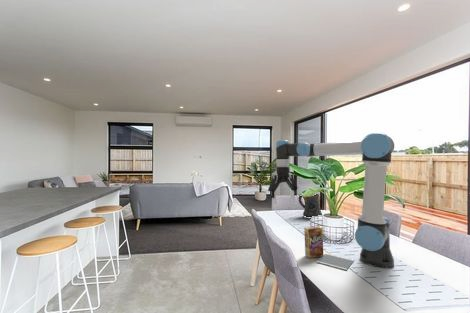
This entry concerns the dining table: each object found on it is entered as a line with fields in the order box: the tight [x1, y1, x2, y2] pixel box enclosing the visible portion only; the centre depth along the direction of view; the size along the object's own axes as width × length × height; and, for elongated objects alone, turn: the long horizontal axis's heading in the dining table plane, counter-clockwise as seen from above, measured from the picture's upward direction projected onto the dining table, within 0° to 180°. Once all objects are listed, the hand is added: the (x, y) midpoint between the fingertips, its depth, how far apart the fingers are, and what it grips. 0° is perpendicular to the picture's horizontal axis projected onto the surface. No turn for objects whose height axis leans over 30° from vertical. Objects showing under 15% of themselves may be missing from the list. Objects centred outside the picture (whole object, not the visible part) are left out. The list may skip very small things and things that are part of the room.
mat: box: [315, 253, 355, 272], centre depth 123 cm, size 14×14×1 cm
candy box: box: [303, 225, 324, 259], centre depth 130 cm, size 9×4×15 cm, turn 103°
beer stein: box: [298, 193, 323, 217], centre depth 219 cm, size 16×19×25 cm
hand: (283, 202), depth 143 cm, fingers open, 13 cm apart
